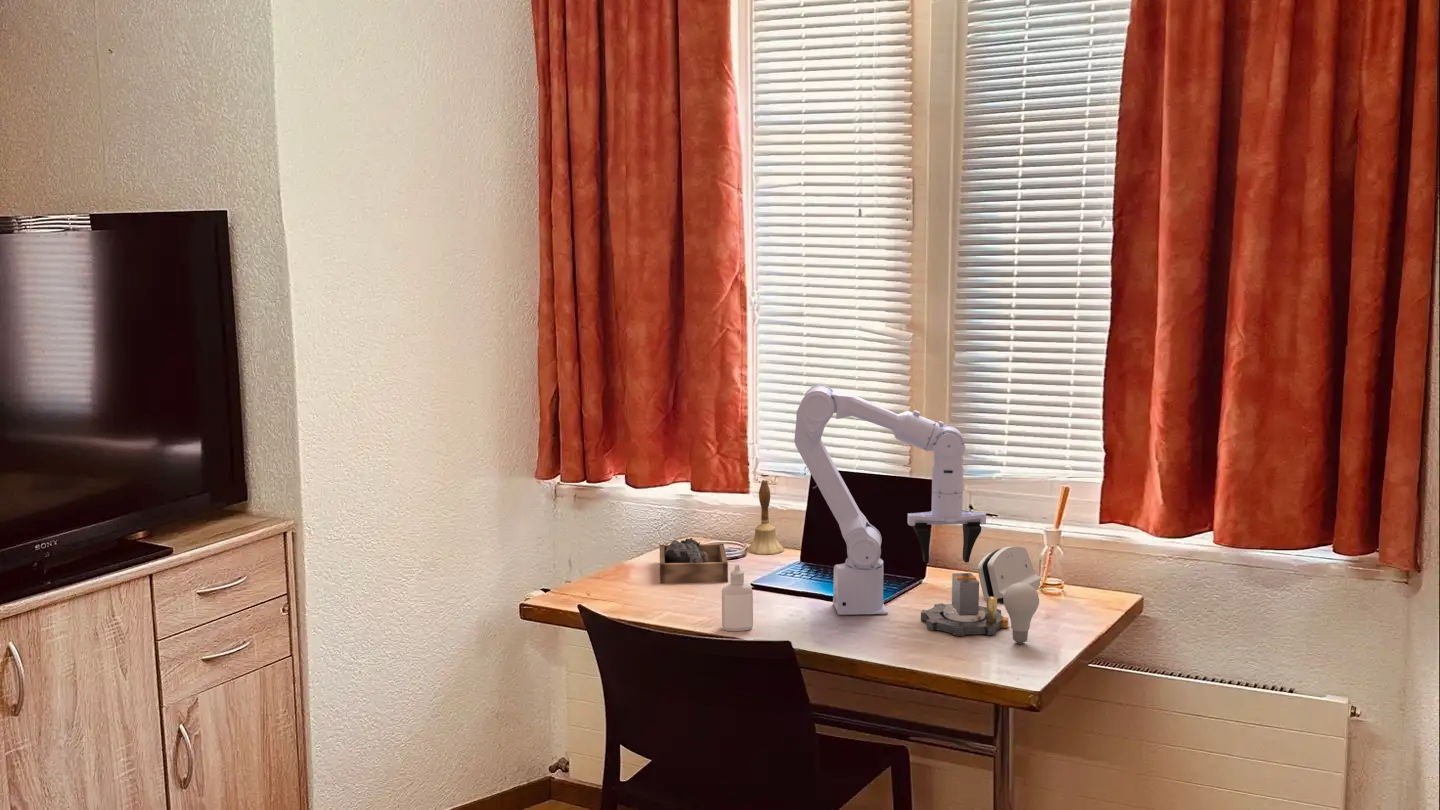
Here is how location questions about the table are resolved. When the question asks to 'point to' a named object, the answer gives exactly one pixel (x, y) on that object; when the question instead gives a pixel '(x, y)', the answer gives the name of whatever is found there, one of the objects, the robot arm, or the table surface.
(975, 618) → the hub
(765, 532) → the hand bell
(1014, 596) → the lightbulb
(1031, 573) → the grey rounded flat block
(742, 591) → the eye dropper bottle
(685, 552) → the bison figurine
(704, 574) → the open wooden box
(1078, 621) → the table surface
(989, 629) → the sprocket
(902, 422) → the robot arm
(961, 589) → the marked link
